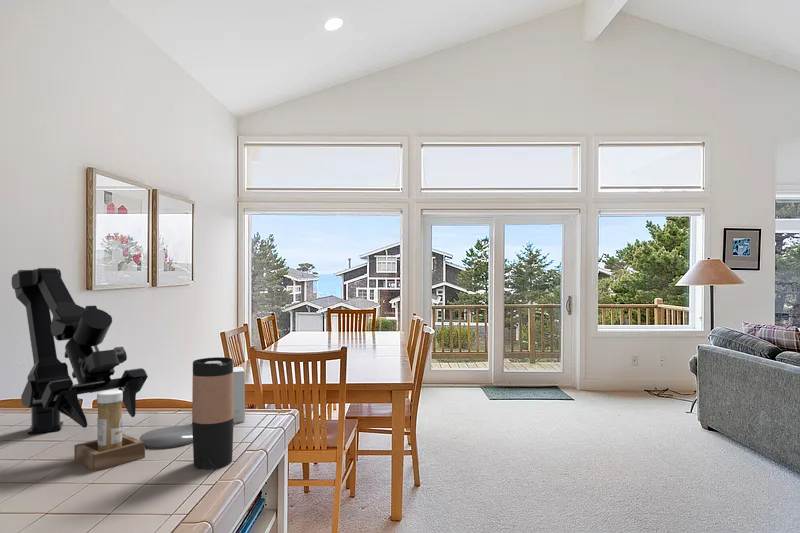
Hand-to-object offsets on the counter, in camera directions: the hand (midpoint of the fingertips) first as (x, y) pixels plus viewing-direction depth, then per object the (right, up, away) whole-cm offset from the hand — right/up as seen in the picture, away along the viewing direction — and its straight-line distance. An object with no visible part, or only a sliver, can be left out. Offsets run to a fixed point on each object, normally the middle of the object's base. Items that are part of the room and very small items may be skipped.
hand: (110, 420), depth 107 cm
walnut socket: (0, -8, 0) cm, 8 cm away
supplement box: (+15, -8, +28) cm, 33 cm away
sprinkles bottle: (0, -8, 0) cm, 8 cm away
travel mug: (+21, -8, -2) cm, 23 cm away
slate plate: (+7, -8, +13) cm, 16 cm away
